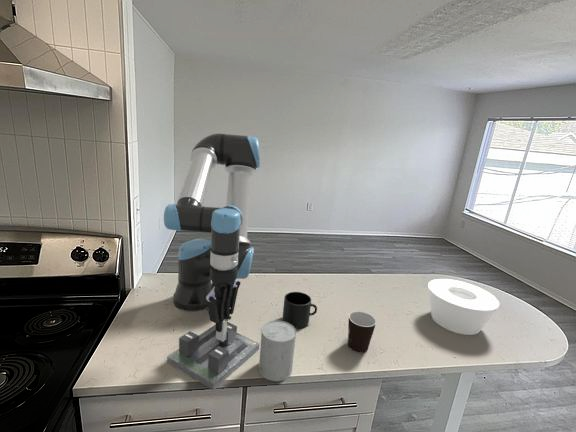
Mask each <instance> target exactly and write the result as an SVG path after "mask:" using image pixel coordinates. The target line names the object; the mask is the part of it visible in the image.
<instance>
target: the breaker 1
mask: <svg viewBox="0 0 576 432" xmlns="http://www.w3.org/2000/svg"><path fill="white" fill-rule="evenodd" d="M199 335H200V334H199ZM199 335H198V334H196V333H194V332H192V331H188V332H186V333H185V334H183V335H182V336H180V337H179V338H178V349H179V352H180V353H182V354H184V355H186V356H187V357H188V356H190V355H191V354H193V353H194V352H195V351H197V350H198V349H199Z"/></svg>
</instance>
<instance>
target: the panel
mask: <svg viewBox="0 0 576 432" xmlns="http://www.w3.org/2000/svg"><path fill="white" fill-rule="evenodd" d="M215 325H216V323H214V325H212V326H211V327H209V328H207V329H206V330H205V331H203V332H202V333H200V334H199V349H198V350H197V351H195V352H194V353H193V354H191V355H190V356H188V357H187V356H186V355H184V354H182V353H180V352H179V348H178V349H176V350H175V351H173V352H172V353H170V354H169V355H167V357H166V358H167V359H166V361H167V363H168V364H169V365H171V366H172V367H174V368H176V369H178V370H179V371H181V372H182V373H184V374H185V375H188V376H189V377H190V378H193V380H195V381H197V382H199V383H200V384H202V385H204V386H206V388H209V389H210V390H212V391H214V390H215V389H217V388H218V386H220V385H221V384H222V383H223V382H224V381H225V380H227V379H228V378H229V377H230V376H231V375H232V374H234V373H235V372H236V371H237V370H238V369H239V368H240V367H242V365H243V364H244V363H245V362H246V361H248V360H249V359H250V358H251V357H252V356H254V354H256V353H257V352H258V351H260V345H261V342H260V343H259V342H257V341H255V340H254V339H252V338H249V337H247V336H245V335H243V334H241V333H239V332H237V334H236V340H234V341H233V342H232V343H230V344H229V345H228V346H227V345H225V344H223V343H221V342H219V340H218V339H217V338H216V330H215V327H216V326H215ZM218 346H220V347H222V348H224V349H226V350H228V351H229V358H228V366H227V367H226V368H224V369H223V370H222V371H221V372H220V373H219V374H217V373H215V372H214V371H212V370H210V369H208V355H209V353H210V352H212V351H213V350H214V349H216V348H217V347H218Z"/></svg>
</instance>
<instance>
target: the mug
mask: <svg viewBox="0 0 576 432" xmlns="http://www.w3.org/2000/svg"><path fill="white" fill-rule="evenodd" d="M283 300H284V301H283V309H282V310H283V311H282V318H281V319H282V320H281V321H284V322H287V323H289V324H291V325H293V326H294V327H295V329H304V328H306V327H307V326H308V324H309V322H310V317H312V316H314V315H316V313H317V312H318V307H317V305H316V304H315V303H312V298H311V296H310V295H309V294H307V293H305V292H300V291H291V292H288V293H286V294H285V295H284V299H283ZM311 307H313V308H314V310H313V312H311Z"/></svg>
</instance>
